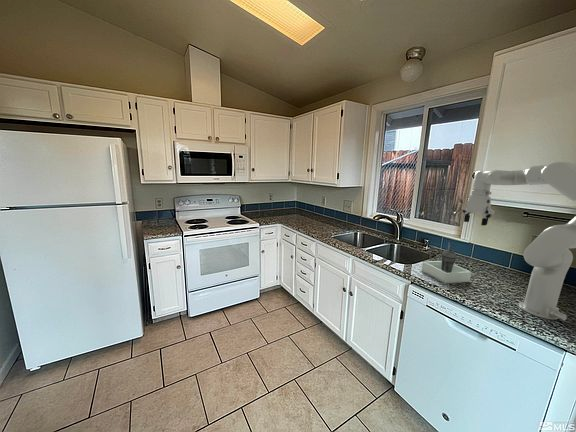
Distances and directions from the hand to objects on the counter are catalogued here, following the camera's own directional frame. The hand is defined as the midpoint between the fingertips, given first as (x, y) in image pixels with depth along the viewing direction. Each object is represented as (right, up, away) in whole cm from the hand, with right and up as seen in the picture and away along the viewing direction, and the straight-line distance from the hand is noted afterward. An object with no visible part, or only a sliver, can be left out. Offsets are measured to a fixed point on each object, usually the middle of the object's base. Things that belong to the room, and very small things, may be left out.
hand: (474, 223), depth 132 cm
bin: (-13, -32, +7) cm, 35 cm away
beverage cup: (-12, -31, +7) cm, 34 cm away
